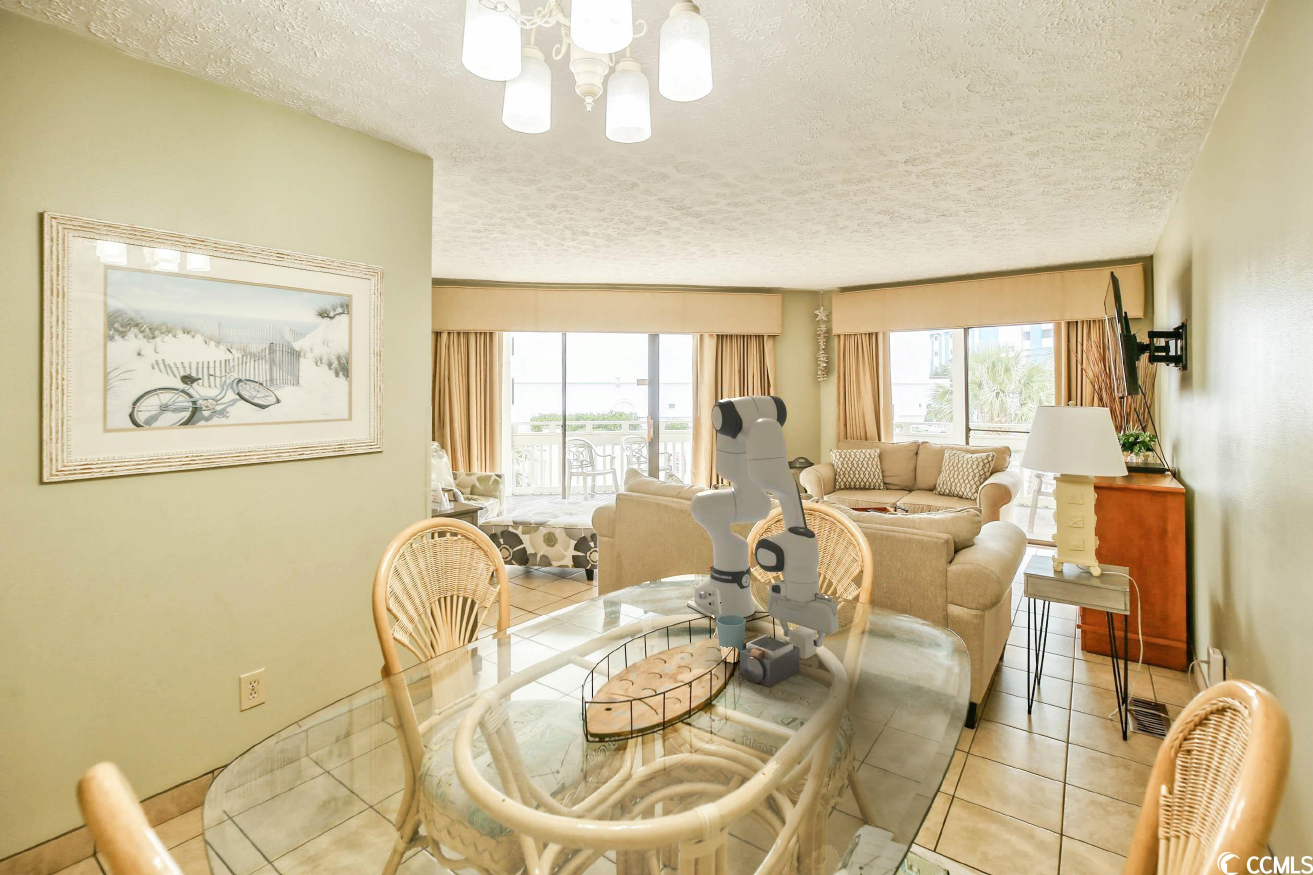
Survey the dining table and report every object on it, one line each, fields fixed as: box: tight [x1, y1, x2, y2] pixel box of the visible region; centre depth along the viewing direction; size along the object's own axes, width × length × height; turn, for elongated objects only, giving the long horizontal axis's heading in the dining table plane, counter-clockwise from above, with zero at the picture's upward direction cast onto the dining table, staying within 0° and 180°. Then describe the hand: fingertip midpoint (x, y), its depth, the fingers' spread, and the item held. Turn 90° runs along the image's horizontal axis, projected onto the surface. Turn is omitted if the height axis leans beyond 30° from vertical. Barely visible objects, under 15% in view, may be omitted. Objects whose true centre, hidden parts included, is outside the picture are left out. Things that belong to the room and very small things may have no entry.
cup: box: [715, 615, 747, 652], centre depth 160 cm, size 8×8×10 cm
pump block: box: [788, 625, 817, 660], centre depth 163 cm, size 5×6×6 cm
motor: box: [739, 634, 801, 688], centre depth 152 cm, size 9×14×8 cm, turn 132°
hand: (802, 641), depth 162 cm, fingers open, 8 cm apart
